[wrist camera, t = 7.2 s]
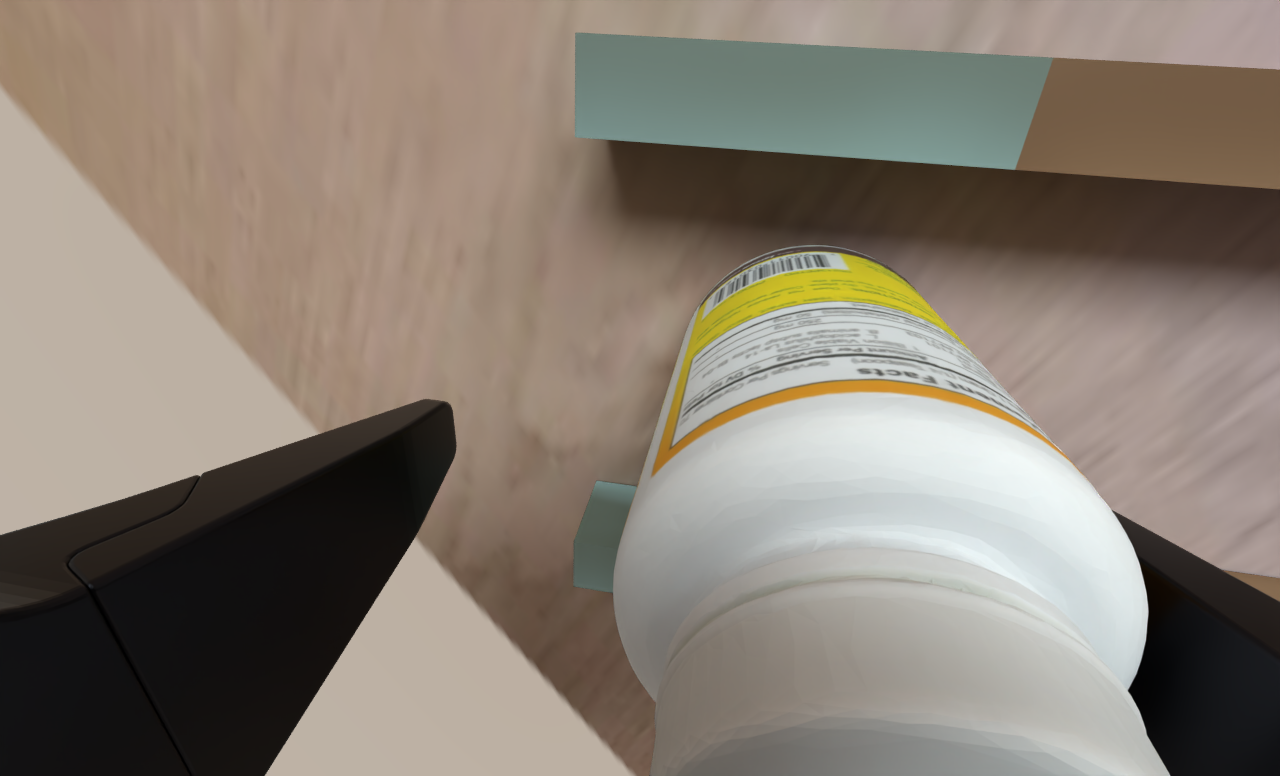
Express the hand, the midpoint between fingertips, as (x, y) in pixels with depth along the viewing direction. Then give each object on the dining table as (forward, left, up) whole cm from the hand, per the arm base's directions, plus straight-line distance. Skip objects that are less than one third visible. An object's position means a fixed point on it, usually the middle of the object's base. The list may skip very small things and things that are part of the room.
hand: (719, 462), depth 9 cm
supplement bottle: (0, -2, -5) cm, 6 cm away
